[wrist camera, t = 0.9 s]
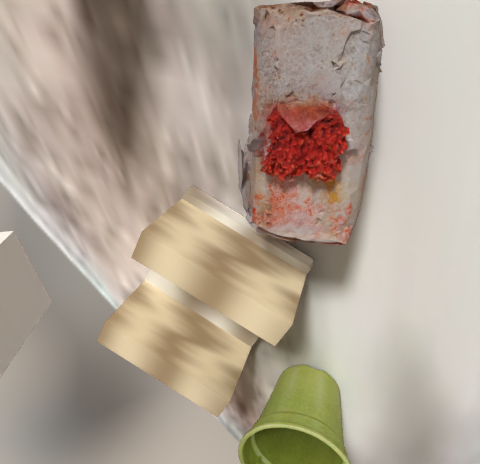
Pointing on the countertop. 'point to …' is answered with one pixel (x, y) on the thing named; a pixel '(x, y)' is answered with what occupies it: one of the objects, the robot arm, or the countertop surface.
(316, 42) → the food item
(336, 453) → the plant pot
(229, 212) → the stand
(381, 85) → the countertop surface
